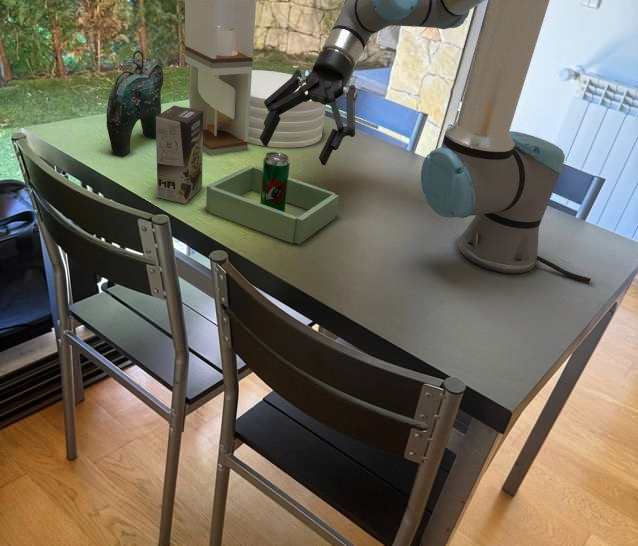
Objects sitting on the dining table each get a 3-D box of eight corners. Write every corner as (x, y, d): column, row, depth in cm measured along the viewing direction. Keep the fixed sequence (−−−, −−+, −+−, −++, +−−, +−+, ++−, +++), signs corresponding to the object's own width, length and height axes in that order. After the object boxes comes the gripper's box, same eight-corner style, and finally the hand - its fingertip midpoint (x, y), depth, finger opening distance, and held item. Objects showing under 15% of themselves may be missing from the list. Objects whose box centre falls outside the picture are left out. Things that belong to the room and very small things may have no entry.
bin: (336, 217, 124) (340, 194, 121) (297, 245, 112) (300, 221, 109) (249, 186, 131) (251, 164, 128) (204, 210, 119) (204, 186, 116)
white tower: (185, 138, 149) (185, -26, 127) (221, 134, 155) (227, -24, 134) (210, 155, 142) (214, -16, 121) (247, 149, 148) (257, -14, 127)
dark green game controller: (147, 129, 150) (144, 42, 138) (171, 135, 149) (170, 48, 137) (103, 153, 134) (95, 57, 122) (129, 160, 133) (124, 63, 121)
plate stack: (320, 154, 153) (327, 107, 146) (210, 138, 151) (211, 91, 144) (322, 120, 175) (328, 79, 168) (226, 107, 173) (228, 64, 166)
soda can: (289, 215, 122) (295, 158, 114) (271, 221, 119) (276, 162, 111) (272, 206, 124) (277, 149, 117) (254, 211, 121) (258, 153, 114)
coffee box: (187, 204, 120) (187, 122, 110) (156, 198, 120) (153, 115, 110) (203, 188, 127) (204, 110, 117) (174, 182, 127) (173, 103, 118)
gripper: (395, 87, 121) (351, 179, 119) (289, 58, 128) (246, 144, 126) (391, 62, 114) (343, 160, 112) (279, 33, 121) (232, 124, 119)
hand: (291, 152), depth 119 cm, fingers open, 13 cm apart
